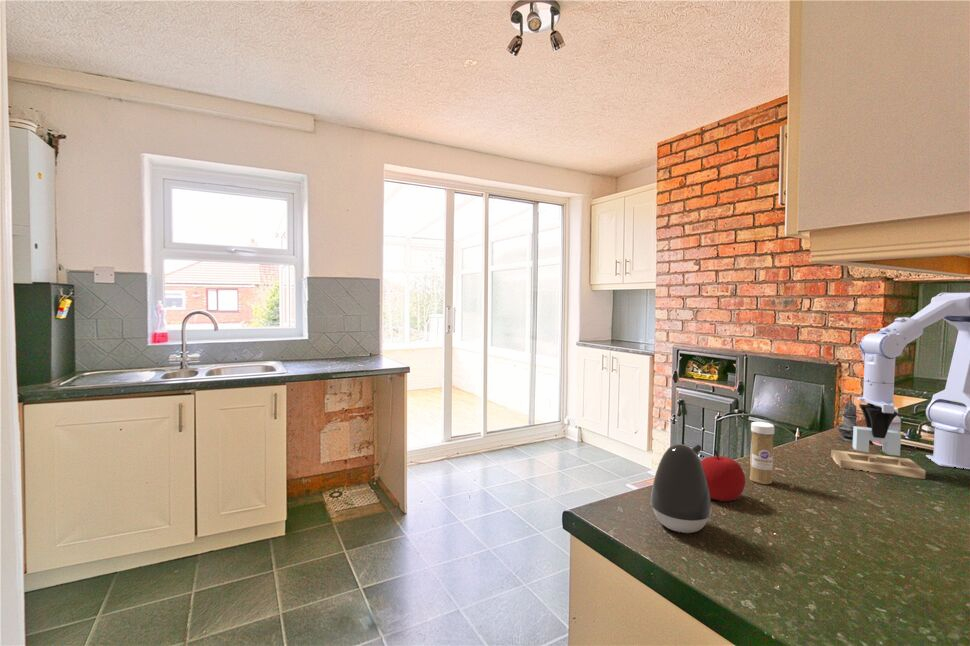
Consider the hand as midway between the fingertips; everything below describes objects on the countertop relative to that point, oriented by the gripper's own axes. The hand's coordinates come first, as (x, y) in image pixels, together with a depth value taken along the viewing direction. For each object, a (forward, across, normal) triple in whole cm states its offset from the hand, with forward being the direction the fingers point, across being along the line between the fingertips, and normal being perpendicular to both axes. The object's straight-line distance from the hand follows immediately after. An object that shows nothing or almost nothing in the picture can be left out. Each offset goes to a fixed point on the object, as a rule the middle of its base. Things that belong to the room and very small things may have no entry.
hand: (876, 435), depth 113 cm
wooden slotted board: (+8, 0, 0) cm, 8 cm away
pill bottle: (+8, -24, +9) cm, 27 cm away
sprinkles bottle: (+8, +23, -27) cm, 36 cm away
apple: (+8, +37, -36) cm, 52 cm away
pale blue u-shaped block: (+4, 0, 0) cm, 4 cm away
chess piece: (+8, -26, +1) cm, 27 cm away
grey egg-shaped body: (+8, +54, -43) cm, 70 cm away
